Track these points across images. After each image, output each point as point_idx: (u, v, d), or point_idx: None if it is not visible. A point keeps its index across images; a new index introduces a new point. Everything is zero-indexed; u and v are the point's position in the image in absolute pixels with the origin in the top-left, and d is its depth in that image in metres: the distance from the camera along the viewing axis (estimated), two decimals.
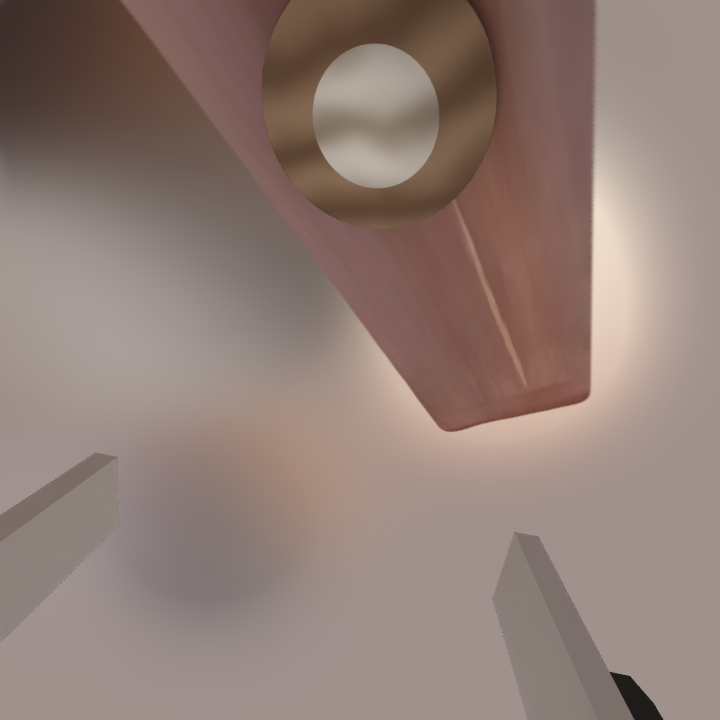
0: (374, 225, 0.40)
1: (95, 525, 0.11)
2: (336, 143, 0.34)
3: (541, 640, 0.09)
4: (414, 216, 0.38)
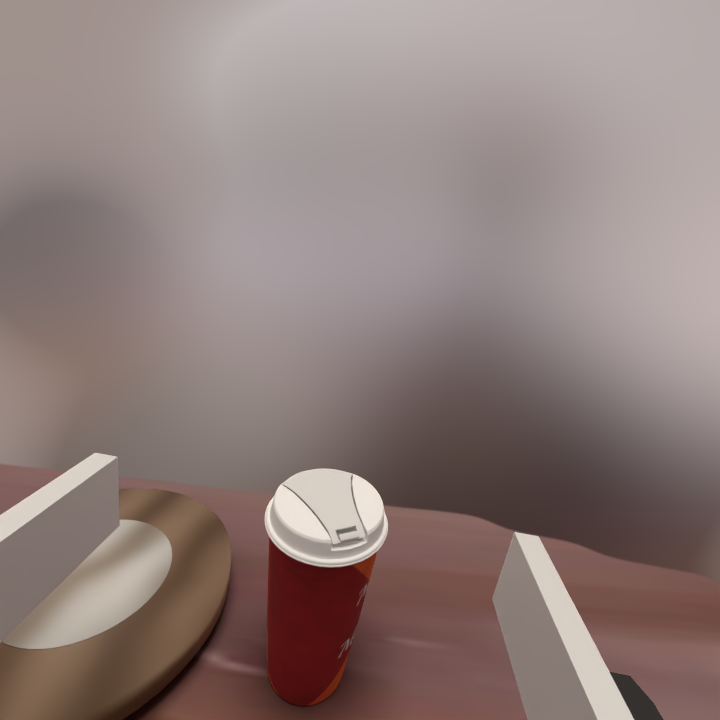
0: None
1: (95, 525, 0.11)
2: (123, 534, 0.31)
3: (540, 640, 0.09)
4: None
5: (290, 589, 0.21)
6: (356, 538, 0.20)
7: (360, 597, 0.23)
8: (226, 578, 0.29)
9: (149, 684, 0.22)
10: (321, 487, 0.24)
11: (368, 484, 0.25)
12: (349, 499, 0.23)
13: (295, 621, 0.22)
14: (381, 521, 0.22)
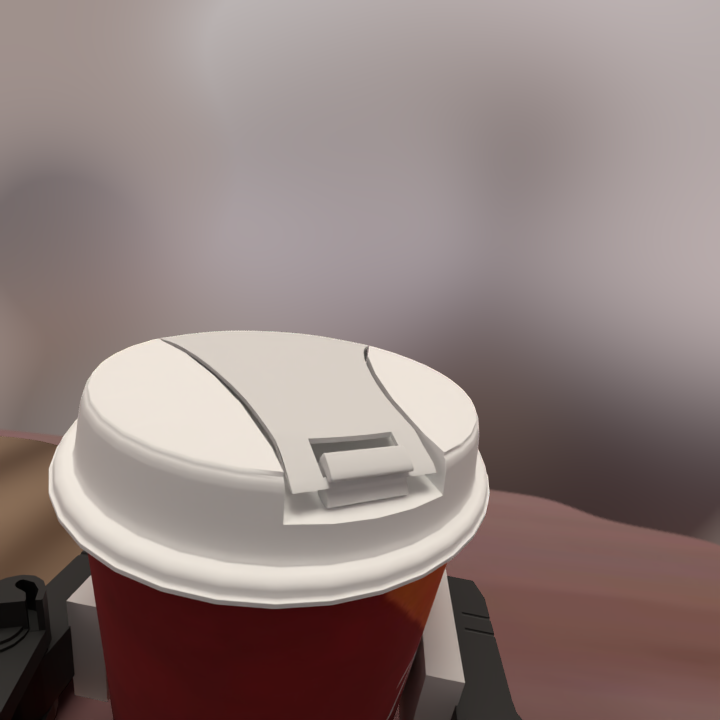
0: None
1: None
2: None
3: None
4: None
5: (133, 685, 0.05)
6: (400, 475, 0.05)
7: (399, 692, 0.07)
8: None
9: None
10: (278, 353, 0.08)
11: (412, 361, 0.09)
12: (363, 377, 0.07)
13: None
14: (478, 431, 0.06)
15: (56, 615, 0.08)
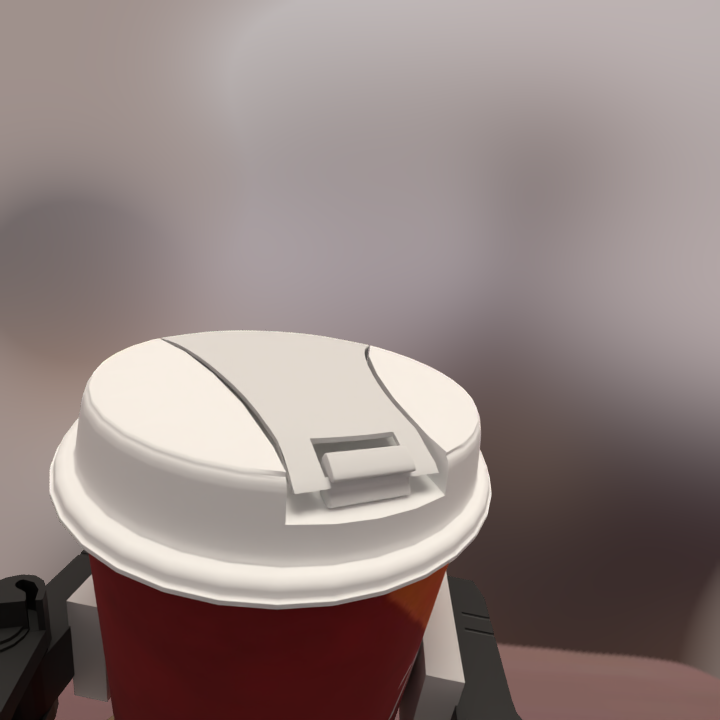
0: None
1: None
2: None
3: None
4: None
5: (134, 685, 0.05)
6: (402, 475, 0.05)
7: (400, 692, 0.07)
8: None
9: None
10: (279, 352, 0.08)
11: (413, 361, 0.09)
12: (364, 377, 0.07)
13: None
14: (480, 431, 0.06)
15: (56, 615, 0.08)
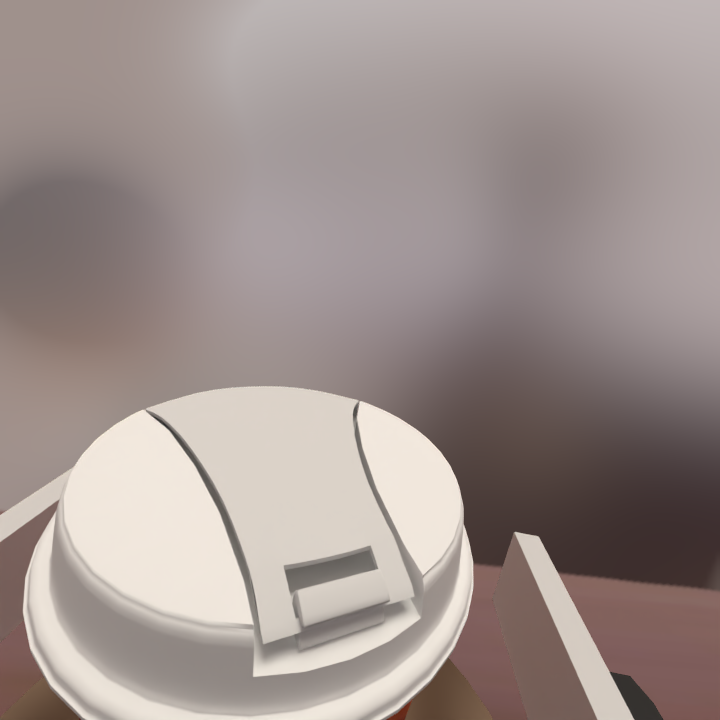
0: None
1: None
2: None
3: (541, 640, 0.09)
4: None
5: None
6: (376, 605, 0.05)
7: None
8: None
9: None
10: (265, 422, 0.08)
11: (401, 423, 0.09)
12: (349, 456, 0.07)
13: None
14: (462, 529, 0.06)
15: None
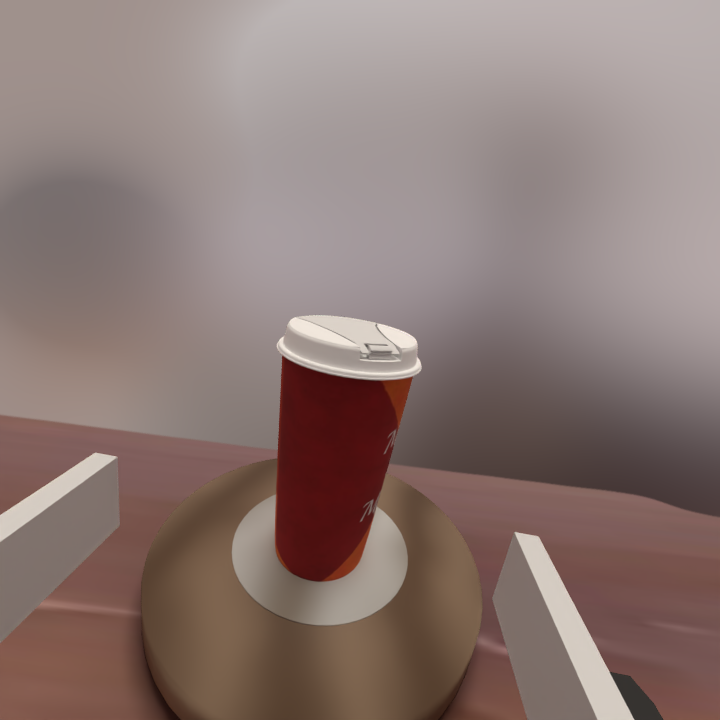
0: (214, 482, 0.28)
1: (95, 525, 0.11)
2: None
3: (541, 640, 0.09)
4: (176, 523, 0.23)
5: (307, 420, 0.18)
6: (389, 353, 0.17)
7: (388, 444, 0.19)
8: (469, 551, 0.25)
9: (465, 669, 0.18)
10: (342, 324, 0.20)
11: (396, 329, 0.21)
12: (376, 332, 0.20)
13: (312, 463, 0.18)
14: (416, 348, 0.18)
15: None
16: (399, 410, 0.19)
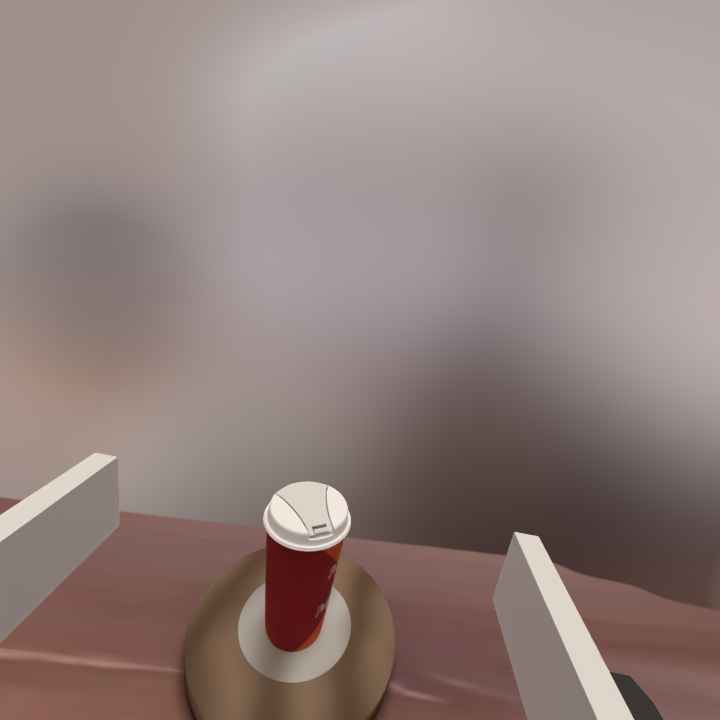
0: (225, 573, 0.41)
1: (95, 525, 0.11)
2: None
3: (541, 640, 0.09)
4: (202, 609, 0.36)
5: (281, 567, 0.31)
6: (326, 532, 0.30)
7: (330, 573, 0.32)
8: (393, 624, 0.38)
9: (374, 709, 0.31)
10: (303, 495, 0.33)
11: (338, 493, 0.34)
12: (323, 504, 0.33)
13: (284, 589, 0.31)
14: (344, 520, 0.31)
15: None
16: (336, 555, 0.32)
